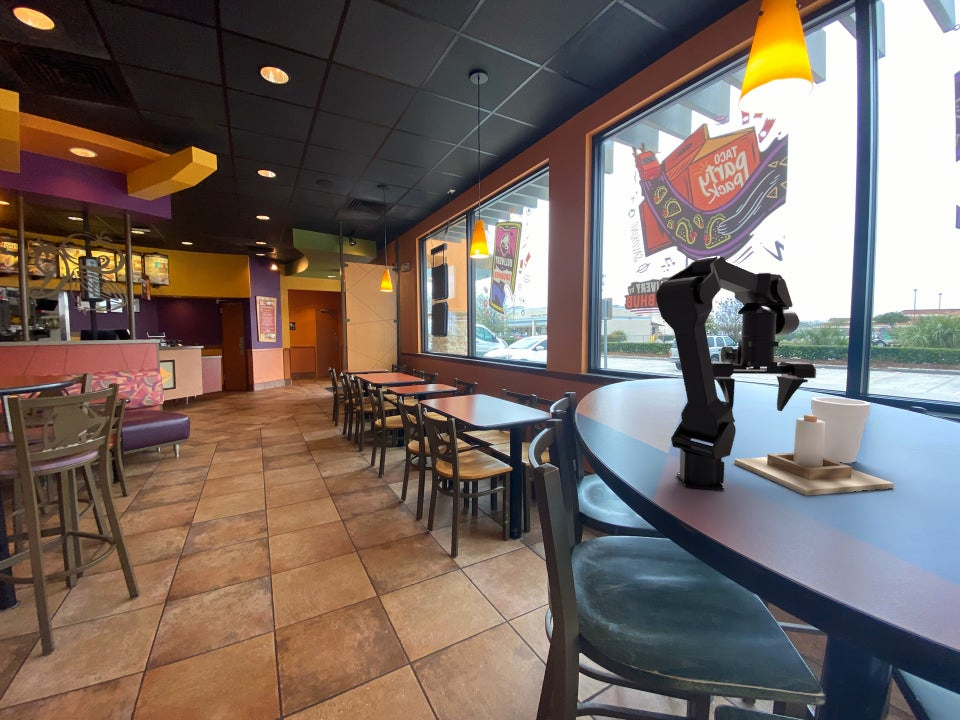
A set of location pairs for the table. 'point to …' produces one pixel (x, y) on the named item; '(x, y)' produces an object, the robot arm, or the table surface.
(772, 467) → the plate
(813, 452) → the white bottle
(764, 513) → the table surface
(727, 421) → the robot arm
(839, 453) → the foam cup
